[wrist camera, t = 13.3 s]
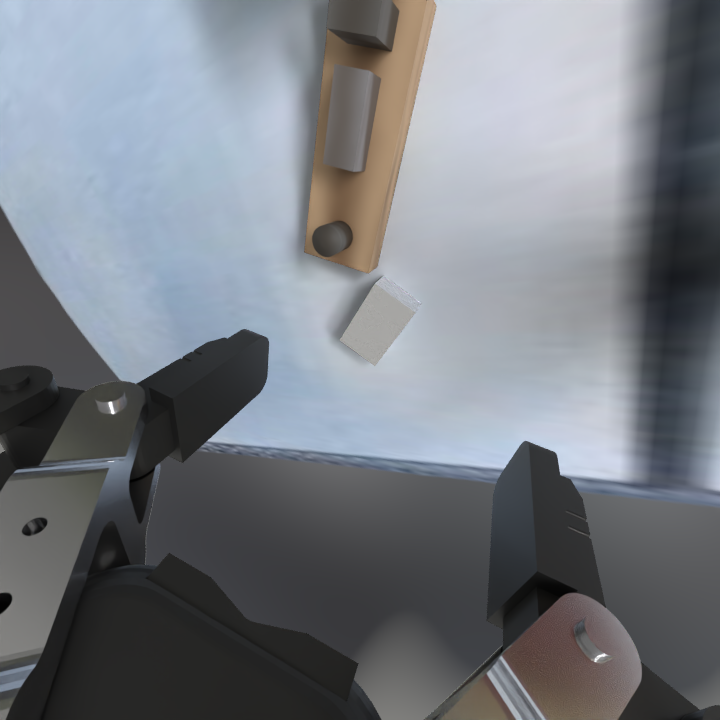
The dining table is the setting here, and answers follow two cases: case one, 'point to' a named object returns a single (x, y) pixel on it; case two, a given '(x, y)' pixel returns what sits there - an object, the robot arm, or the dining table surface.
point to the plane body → (363, 123)
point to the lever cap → (379, 320)
